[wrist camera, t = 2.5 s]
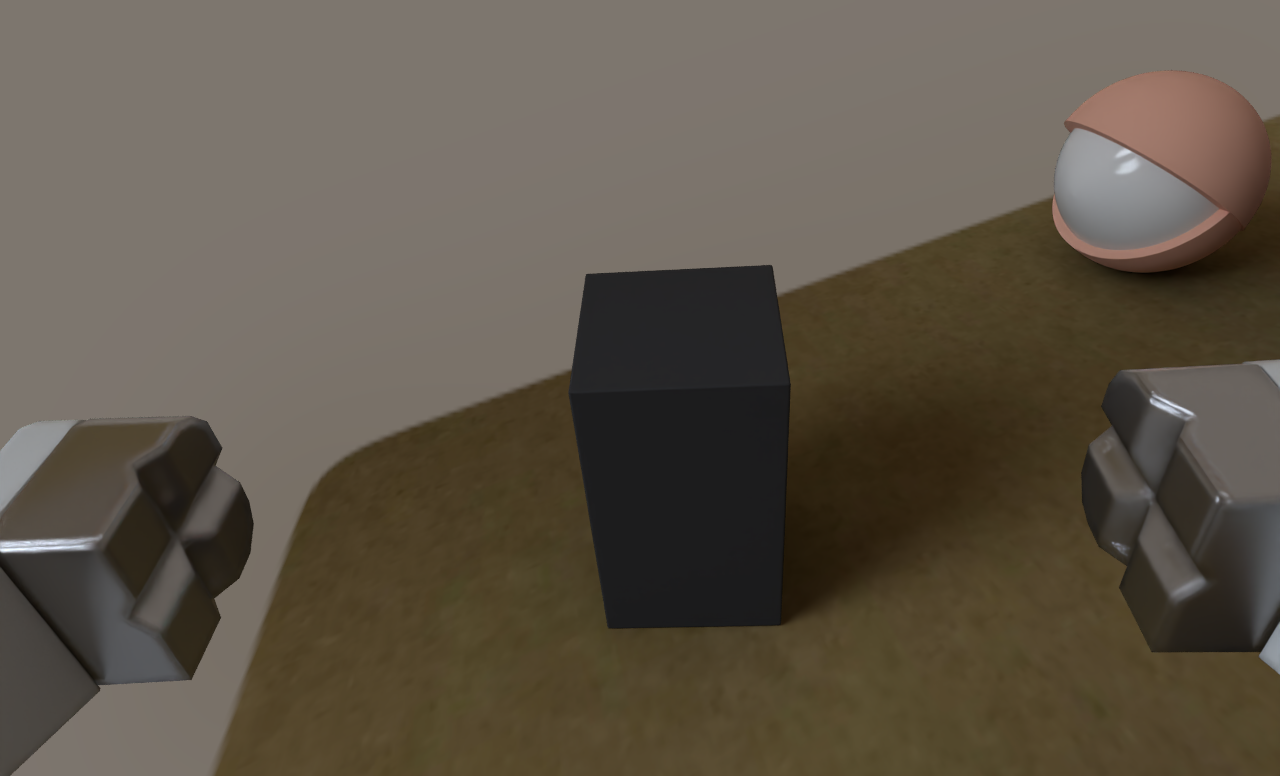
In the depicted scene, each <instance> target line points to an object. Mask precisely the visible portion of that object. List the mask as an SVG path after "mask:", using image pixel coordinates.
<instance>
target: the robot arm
mask: <svg viewBox="0 0 1280 776" xmlns="http://www.w3.org/2000/svg"><path fill="white" fill-rule="evenodd" d="M1101 407H1102V409H1103V411H1104V413H1105V414H1106V416H1107V418H1108V419H1109V421H1110V423H1111V425H1112V426H1111V427H1110V428H1109V429H1107V430H1106V431H1105V432H1104V433H1103V434H1101V435H1100V436H1099V437H1098V438H1096V439H1095V440H1094V441H1093V442H1092V443H1090V444H1089V446H1088V450H1087V454H1086V457H1085V461H1084V465H1083V468H1082V472H1081V478H1082V503H1083V507H1084V511H1085V514H1086V518H1087V522H1088V525H1089V527H1090V529H1091V531H1092V533H1093V536H1094V538H1095V540H1096V542H1097V544H1098V546H1099V547H1100V548H1101V549H1103V550H1104V551H1106V552H1107V553H1109V554H1110V555H1111V556H1113V557H1114V558H1116V559H1117V560H1119V561H1120V562H1122V563H1123V564H1125V565H1126V566H1127V568H1126V571H1125V573H1124V576H1123V578H1122V581H1121V584H1120V586H1119V589H1120V591H1121V592H1122V594H1123V596H1124V598H1125V600H1126V602H1127V604H1128V606H1129V608H1130V610H1131V612H1132V614H1133V616H1134V618H1135V620H1136V622H1137V624H1138V626H1139V628H1140V630H1141V632H1142V634H1143V636H1144V638H1145V640H1146V642H1147V644H1148V646H1149V648H1150V650H1151V652H1261V653H1260V655H1259V658H1260V659H1262V660H1263V661H1264V662H1265V663H1267V664H1268V665H1269V666H1270V667H1271V668H1273V669H1274V670H1275V671H1276V672H1278V673H1279V674H1280V359H1279V360H1264V361H1250V362H1244V363H1242V364H1226V365H1207V366H1189V367H1171V368H1153V369H1135V370H1120V371H1119V372H1118V373H1117V374H1116V376H1115V377H1114V378H1113V379H1112V381H1111V382H1110V383H1109V385H1108V388H1107V391H1106V394H1105V397H1104V400H1103V403H1102V405H1101ZM221 450H222V447H221V445H220V443H219V441H218V440H217V438H216V436H215V435H214V433H213V431H212V429H211V428H210V426H209V424H208V422H207V421H204V420H201V419H198V418H195V417H192V416H175V417H139V418H99V419H89V420H58V421H38V422H36V423H33V424H30V425H28V426H25V427H23V428H20V429H19V430H18V431H17V432H16V433H15V435H14V436H13V437H12V438H11V439H10V440H9V441H8V443H7V444H6V445H5V446H4V447H3V448H2V450H1V451H0V776H10V775H11V774H12V773H13V772H14V771H16V770H17V769H18V768H19V767H20V766H21V765H22V764H23V763H24V762H25V761H26V760H27V759H28V758H29V757H30V756H31V755H32V754H34V753H35V752H36V751H37V750H38V749H39V748H40V747H41V746H42V745H43V744H44V743H45V742H46V741H47V740H48V739H49V738H50V737H51V736H52V735H54V734H55V733H56V732H57V731H58V730H59V729H60V728H61V727H62V726H63V725H64V724H65V723H66V722H67V721H68V720H69V719H71V718H72V717H73V716H74V715H75V714H76V713H77V712H78V711H79V710H80V709H81V708H82V707H83V706H84V705H85V704H86V703H87V702H89V701H90V699H92V698H93V697H94V696H95V695H96V694H97V693H98V692H99V691H100V687H99V686H98V685H110V684H127V683H145V682H161V681H162V682H163V681H180V680H192V677H193V675H194V673H195V671H196V669H197V667H198V665H199V663H200V661H201V659H202V656H203V654H204V652H205V650H206V648H207V646H208V644H209V641H210V640H211V637H212V635H213V633H214V631H215V629H216V627H217V625H218V623H219V621H220V619H221V617H220V614H219V611H218V608H217V605H216V602H215V600H214V598H215V597H217V596H218V595H219V594H220V593H222V592H223V591H224V590H225V589H226V588H228V587H229V586H230V585H232V584H233V583H234V582H235V581H237V580H238V579H239V578H240V575H241V573H242V571H243V569H244V566H245V564H246V562H247V560H248V557H249V555H250V551H251V541H252V534H253V533H252V532H253V524H254V523H253V518H252V513H251V508H250V503H249V500H248V498H247V496H246V494H245V492H244V490H243V488H242V486H241V484H240V482H239V481H237V480H236V479H234V478H233V477H231V476H230V475H228V474H227V473H225V472H224V471H222V470H221V469H219V468H218V467H216V466H215V465H216V463H217V460H218V458H219V455H220V453H221Z"/></svg>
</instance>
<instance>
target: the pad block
mask: <svg viewBox="0 0 1280 776" xmlns="http://www.w3.org/2000/svg"><path fill="white" fill-rule="evenodd" d="M790 387H791V383H790V377H789V370H788V364H787V357H786V351H785V344H784V338H783V332H782V325H781V319H780V312H779V306H778V299H777V293H776V287H775V280H774V274H773V267H772V265H762V266H744V267H721V268H700V269H680V270H659V271H638V272H618V273H597V274H586V278H585V285H584V291H583V298H582V305H581V311H580V318H579V325H578V333H577V339H576V346H575V352H574V359H573V366H572V373H571V380H570V386H569V398H570V404H571V410H572V416H573V422H574V428H575V434H576V440H577V446H578V452H579V458H580V464H581V470H582V476H583V482H584V488H585V494H586V500H587V506H588V512H589V518H590V524H591V530H592V536H593V542H594V548H595V554H596V559H597V565H598V571H599V577H600V583H601V589H602V595H603V601H604V607H605V613H606V619H607V625H608V628H651V627H705V626H759V625H780V624H781V610H782V585H783V560H784V536H785V511H786V486H787V462H788V437H789V412H790Z"/></svg>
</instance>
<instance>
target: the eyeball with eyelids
mask: <svg viewBox="0 0 1280 776" xmlns="http://www.w3.org/2000/svg"><path fill="white" fill-rule="evenodd" d="M1064 125H1065V127H1066V128H1067V129H1068V130H1069V132H1070V135H1069V136H1068V138H1067V139H1066V141H1065V143H1064V145H1063V147H1062V149H1061V152H1060V154H1059V157H1058V160H1057V164H1056V168H1055V175H1054V197H1053V206H1052V210H1053V218H1054V222H1055V225H1056V228H1057V230H1058V232H1059V233H1060V235H1061V236H1062V237H1063V239H1064V240H1065V241H1066V242H1067V243H1068V244H1070V245H1071V246H1072V247H1073V248H1074V249H1075V250H1077V251H1078V252H1079V253H1081V254H1082V255H1084V256H1085V257H1087V258H1089V259H1090V260H1092V261H1094V262H1096V263H1098V264H1101V265H1103V266H1106V267H1109V268H1113V269H1117V270H1121V271H1128V272H1139V273H1148V272H1160V271H1166V270H1171V269H1176V268H1179V267H1183V266H1186V265H1189V264H1191V263H1194V262H1196V261H1198V260H1200V259H1202V258H1204V257H1206V256H1208V255H1210V254H1212V253H1213V252H1215V251H1216V250H1218V249H1219V248H1221V247H1222V246H1223V245H1225V244H1226V243H1227V242H1228V241H1230V240H1231V239H1232V238H1233V237H1234V236H1235V235H1236V234H1237V233H1238V232H1239V231H1243V230H1244V229H1245V228H1246V226H1247V225H1248V223H1249V222H1250V221H1251V219H1252V218H1253V216H1254V215H1255V213H1256V211H1257V210H1258V208H1259V206H1260V204H1261V202H1262V200H1263V198H1264V195H1265V192H1266V190H1267V186H1268V182H1269V178H1270V172H1271V148H1270V142H1269V138H1268V135H1267V131H1266V129H1265V126H1264V124H1263V122H1262V120H1261V118H1260V117H1259V115H1258V113H1257V112H1256V110H1255V109H1254V108H1253V106H1252V105H1251V104H1250V103H1249V102H1248V101H1247V100H1246V99H1245V98H1244V97H1243V96H1242V95H1241V94H1240V93H1239V92H1237V91H1236V90H1235V89H1233V88H1232V87H1230V86H1228V85H1227V84H1225V83H1223V82H1221V81H1219V80H1216V79H1214V78H1212V77H1209V76H1206V75H1202V74H1198V73H1192V72H1186V71H1173V70H1171V71H1155V72H1148V73H1143V74H1139V75H1135V76H1132V77H1129V78H1126V79H1123V80H1121V81H1118V82H1116V83H1114V84H1112V85H1110V86H1108V87H1106V88H1104V89H1102V90H1101V91H1099V92H1098V93H1096V94H1095V95H1093V96H1092V97H1090V98H1089V99H1088V100H1087V101H1086V102H1084V103H1083V104H1082V105H1081V106H1080V107H1078V108H1077V109H1076V110H1075V111H1074V112H1073V113H1072V114H1071V116H1070V117H1069V118H1068V119H1067V120H1066V121H1065V122H1064Z"/></svg>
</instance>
